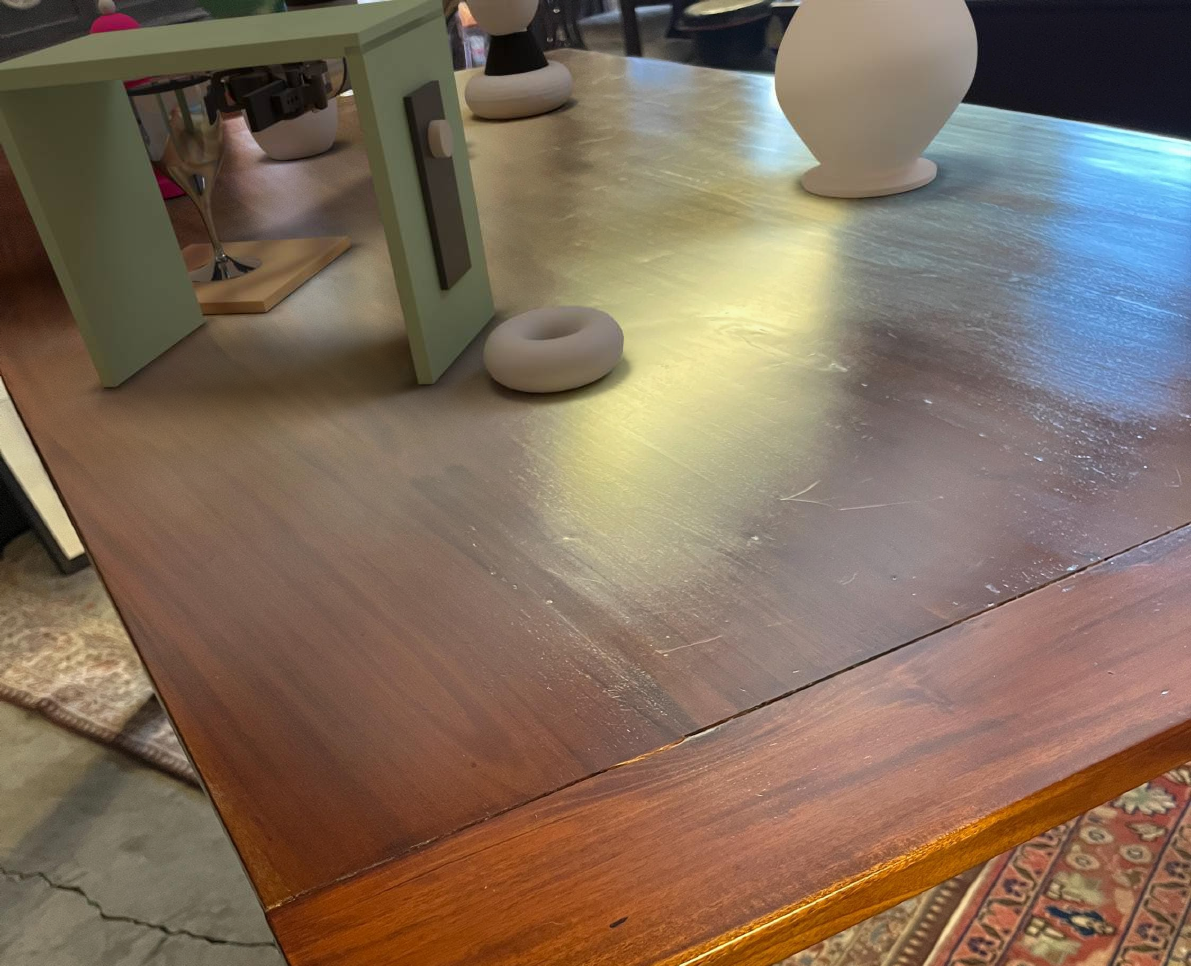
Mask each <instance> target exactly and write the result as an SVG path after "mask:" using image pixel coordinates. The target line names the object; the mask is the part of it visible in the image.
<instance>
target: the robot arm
mask: <svg viewBox="0 0 1191 966" xmlns="http://www.w3.org/2000/svg"><path fill="white" fill-rule="evenodd" d="M283 2H284V5H285V8H286V12H291V11H300V10H309V9H318V8H327V7H336V6H345V5H354V4H359V1H358V0H283ZM198 75H208V76H211V78H212V81H213V84H214V87H215V91H216V94H217V98H218V102H219V106H220V109H221V113H223V114H230V113H234V112H238V111H239V112H240V111H241V110H243V109H245V111H246V114H247V118H248V121H249V125H250V128H251V132H252V133H255V132H260V131H262V130H264V129H266V128H268V127H270V126H272V125H274V124H276V123H278V122H280V121H282V120H284V121H286V120H293V119H296V118H298V117H300V116H302V115H303V114H305V113H307V112H309V111H312V112H313V113H317V112H319V111H320V110H324V109H326V108H327V107H328V101H329V100H330V99H332V98H334V97H336V98H337V97H338V96H340V95H342V94H344V93H347V92H349V91H353V90H352V86H351V81H350V77H349V72H348V68H347V63H346V59H345V58H335V59H325V60H314V61H304V62H294V63H284V64H274V65H263V66H253V67H243V68H233V69H222V70H212V71H204V72H203V73H199V74H198ZM223 78H224V79H223ZM226 93H227V94H228V96H229V98H230V99H231V100H232V101H233V102H234V103H228V100H227V96H226Z"/></svg>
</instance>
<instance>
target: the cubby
mask: <svg viewBox="0 0 1191 966" xmlns="http://www.w3.org/2000/svg"><path fill="white" fill-rule="evenodd" d="M443 5H444V4H443V0H381V1H373V2H363V3H358V4H354V5H345V6H336V7H327V8H318V9H309V10H300V11H291V12H287V11H283V12H274V13H265V14H257V15H247V16H239V17H230V18H220V19H213V20H211V19H210V20H202V21H195V22H194V21H193V22H186V23H175V24H168V25H158V26H157V25H156V26H149V27H148V26H147V27H140V28H139V29H130V30H121V31H113V32H104V33H95V34H90V33H89V34H88V35H85V36H84V35H83V36H82V37H77V38H75V39H72V40H68V41H66V42H63V43H59V44H55V45H53V46H50V47H47V48H44V49H41V50H37V51H35V52H31V53H28V54H24V55H22V56H19V57H15V58H12V59H9V60H5V61H1V62H0V145H1V147H2V150H3V151H4V154H5V157H6V158H7V161H8V163H9V164H8V165H9V166H10V168H11V170H12V173H13V175H14V178H15V180H16V183H17V185H18V187H19V190H20V192H21V195H22V197H23V199H24V202H25V204H26V206H27V209H28V211H29V214H30V216H31V219H32V221H33V223H34V225H35V228H36V230H37V233H38V235H39V237H40V240H41V242H42V244H43V247H44V250H45V252H46V254H47V256H48V259H49V261H50V263H51V266H52V268H53V271H54V273H55V276H56V278H57V280H58V282H59V285H60V288H61V289H62V292H63V295H64V297H65V299H66V302H67V304H68V306H69V309H70V312H71V314H72V316H73V319H74V321H75V324H76V325H77V328H78V331H79V332H80V335H81V337H82V339H83V343H84V345H85V347H86V349H87V352H88V355H89V357H90V359H91V361H92V364H93V366H94V368H95V372H96V373H97V376H98V379H99V380H100V383H101V385H102V387H103V388H118V386H119V385H121V384H122V383H124V382H125V381H126V380H128V379H129V378H131V377H132V376H133V375H135V374H136V373H138V372H139V371H141V369H143V368H144V367H146V366H147V365H149V364H150V363H151V362H152V361H154V360H155V359H157V358H159V356H161V355H162V354H163V353H165V352H166V351H168V350H169V349H170V348H172V347H173V346H175V345H176V344H177V343H179V342H180V341H182V340H183V339H184V338H186V337H187V336H189V335H190V334H191V333H192V332H194V331H195V330H197V329H198V328H199V327H201V326H202V325H203V324H205V323H206V320H205V317H204V314H202V311H201V308H200V305H199V302H198V299H197V297H196V294H195V291H194V288H193V285H192V282H191V279H190V276H189V273H188V270H187V267H186V264H185V262H184V259H183V256H182V253H181V250H182V249H181V247H180V245H179V242H178V239H177V236H176V232H175V229H174V226H173V224H172V221H171V218H170V215H169V212H168V209H167V207H166V204H165V199H163V197H162V194H161V192H160V189H159V186H158V183H157V180H156V177H155V174H154V171H153V168H152V165H151V162H150V160H149V157H148V154H147V151H146V148H145V145H144V142H143V139H142V136H141V133H140V130H139V127H138V125H137V122H136V119H135V116H134V113H133V110H132V107H131V104H130V101H129V98H128V95H127V92H126V90H125V87H124V84H123V81H122V79H131V78H141V77H150V78H152V77H161V76H170V75H180V74H190V73H200V72H205V71H216V70H222V69H233V68H243V67H253V66H263V65H274V64H284V63H294V62H304V61H314V60H325V59H335V58H345V59H346V63H347V68H348V72H349V77H350V81H351V86H352V90H351V91H352V94H353V98H354V103H355V108H356V111H357V116H358V122H359V125H360V130H361V134H362V138H363V144H364V147H365V152H366V156H367V161H368V166H369V169H370V174H371V175H370V176H371V178H372V183H373V187H374V192H375V197H376V201H377V207H378V210H379V214H380V219H381V224H382V227H383V233H384V237H385V241H386V246H387V250H388V255H389V258H390V263H391V268H392V272H393V277H394V281H395V286H396V291H397V294H398V299H399V304H400V308H401V312H402V313H401V314H402V317H403V321H404V326H405V330H406V334H407V335H406V336H407V339H408V344H409V348H410V352H411V357H412V361H413V366H414V370H415V374H416V379H417V384H418V385H434V384H435V383H436V382H437V381H438V380H439V378H441V376H442V375H443V374H444V373H445V372H446V370H448V369H449V367H450V366H452V364H453V363H454V361H455V360H456V359H457V358H458V357H459V356H460V355H461V354H462V352H463V351H464V350H465V349H466V348H467V347H468V345H470V343H472V341H474V339H475V338H476V337H477V336H478V334H479V333H480V332H481V331H482V330H483V329H484V327H486V326H487V324H488V323H489V322H490V321H491V320H492V319H493V317H494V316H495V315H496V310H495V304H494V299H493V292H492V287H491V282H490V281H491V280H490V275H489V270H488V264H487V258H486V253H485V252H486V251H485V245H484V240H483V233H482V227H481V223H480V222H481V221H480V217H479V211H478V204H477V199H476V193H475V187H474V182H473V181H474V180H473V176H472V169H471V163H470V158H469V152H468V147H467V141H466V135H465V127H464V123H463V122H464V121H463V117H462V111H461V104H460V99H459V94H458V88H457V82H456V76H455V75H456V74H455V69H454V63H453V58H452V57H453V56H452V52H451V46H450V41H449V34H448V27H447V22H446V17H445V11H444V6H443Z"/></svg>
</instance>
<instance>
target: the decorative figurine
mask: <svg viewBox="0 0 1191 966" xmlns="http://www.w3.org/2000/svg"><path fill="white" fill-rule="evenodd" d="M466 6H467V8H468V11H469V13H470V15H471V17H472V18H473V20H474V22H475V23H476V24H477V26H479V27H480V28H481V29H482V30H483V31H484V32H486V33H488V34H489V35H491V36H490V41H489V45H488V52H487V57H486V62H485V66H484V69H482V70H479V71H477V72H476V73H474V74H473V75H472V76H470V78H469V79H468V80H467V82H466V84H465V87H464V101H465V103H466V105H467V107H468V109H469V110H470V111H471V113H473V114H475V116H478V117H479V118H484V119H488V120H510V119H511V120H512V119H518V118H519V119H520V118H527V117H532V116H536V115H541V114H544V113H548V112H551V111H553V110H556V109H557V108H559V107H562V106H563V105H564V104H566V102H567V101H568V100H569V99H570V97H571V95H572V93H573V88H574V80H573V76H572V73H571V71H570V70H569V69H568V67H567V66H565V65H564V64H562V63H560V62H559V61H556V60H549V59H547V57H546V55H545V54H544V51H543V50H542V48H541V45H540V43H539V41H538V40H537V37H536V36H535V34H534V32H533V29H532V28H531V26H530V24H531V23H532V21H533V19H534V18H535V15H536V13H537V10H538V6H539V0H466Z"/></svg>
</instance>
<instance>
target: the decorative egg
mask: <svg viewBox="0 0 1191 966" xmlns="http://www.w3.org/2000/svg"><path fill="white" fill-rule="evenodd" d="M240 112H241V114H242V118H243V121H244V124H245V126H246V127H247V129H248V131H249V133H250V135H251V137H252V138H253V140H254V141H255V143H256V144H257V145H258V147H259V148H260V149H261V150H262V151H263V152H264V153H265V154H266V155H267V156H268V157H269V158H271V159H272V160H278V161H288V160H296V159H297V160H298V159H303V158H309V157H313V156H316V155H319V154H323V153H325V152H327V151H329V150H330V149H331V148H332V146H333V144H334V141H335V139H336V136H337V130H338V125H339V123H338V120H339V110H338V102H337V96H336V97H334V98H332V99H330V100H329V101H328V107H327V108H326V109H324V110H320V111H319V112H317V113H313V112H312V111H309V112H307V113H305V114H303V115H302V116H300V117H298V118H296V119H293V120H286V121H284V120H282V121H280V122H278V123H276V124H274V125H272V126H270V127H268V128H266V129H264V130H262V131H260V132H255V133H252V132H251V128H250V125H249V121H248V118H247V114H246V111H245V109H243V110H240Z"/></svg>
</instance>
